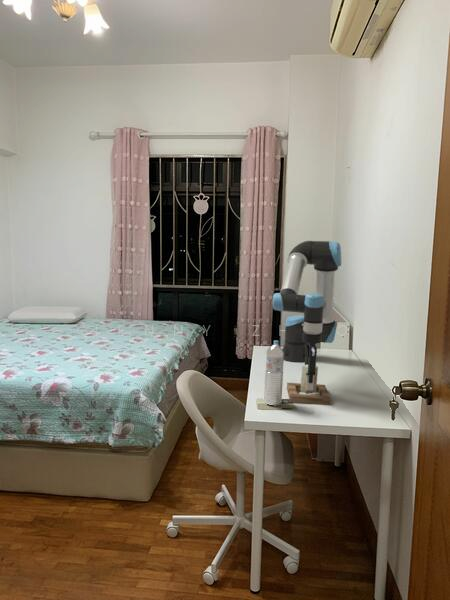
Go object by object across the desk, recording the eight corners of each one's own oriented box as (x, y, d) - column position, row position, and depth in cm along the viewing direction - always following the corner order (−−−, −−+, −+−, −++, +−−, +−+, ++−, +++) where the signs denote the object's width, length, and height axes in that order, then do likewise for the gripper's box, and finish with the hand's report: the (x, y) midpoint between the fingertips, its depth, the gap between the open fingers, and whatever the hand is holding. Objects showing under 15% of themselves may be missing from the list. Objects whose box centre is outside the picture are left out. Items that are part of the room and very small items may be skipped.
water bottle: (263, 399, 171) (266, 338, 168) (280, 400, 171) (284, 339, 168) (264, 406, 165) (267, 342, 161) (282, 407, 164) (286, 343, 161)
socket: (286, 388, 185) (287, 382, 185) (324, 390, 184) (324, 384, 184) (290, 402, 169) (290, 396, 169) (331, 404, 169) (331, 398, 168)
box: (305, 394, 174) (307, 367, 172) (299, 390, 178) (301, 364, 176) (316, 392, 176) (318, 366, 174) (310, 389, 180) (312, 363, 178)
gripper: (300, 326, 182) (296, 379, 186) (305, 337, 164) (302, 395, 167) (318, 327, 182) (314, 380, 186) (325, 338, 163) (321, 396, 167)
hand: (308, 387), depth 176 cm, fingers closed on box, 6 cm apart
